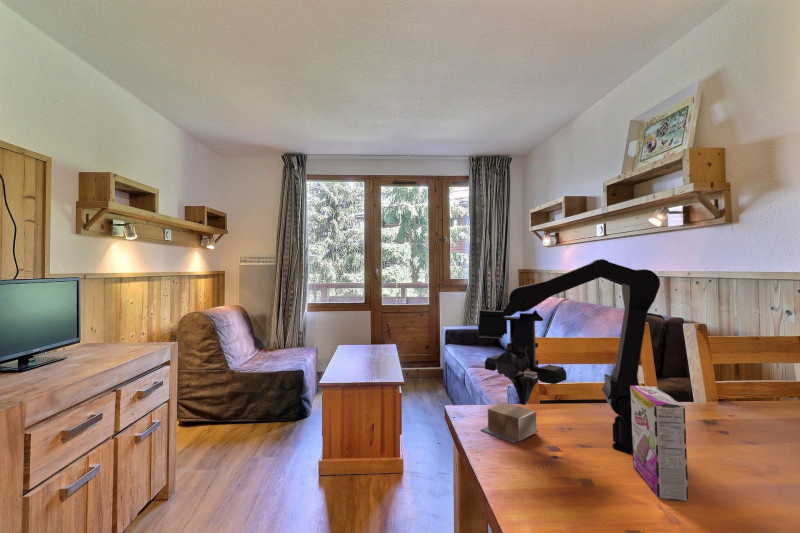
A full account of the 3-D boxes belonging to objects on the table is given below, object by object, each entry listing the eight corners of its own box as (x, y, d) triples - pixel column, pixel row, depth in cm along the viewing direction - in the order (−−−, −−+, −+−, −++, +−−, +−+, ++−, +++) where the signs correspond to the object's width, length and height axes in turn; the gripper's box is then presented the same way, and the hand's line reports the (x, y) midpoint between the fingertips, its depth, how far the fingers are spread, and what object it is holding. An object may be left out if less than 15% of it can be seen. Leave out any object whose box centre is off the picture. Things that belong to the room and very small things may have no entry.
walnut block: (535, 411, 92) (504, 402, 99) (519, 419, 88) (487, 408, 94) (536, 432, 92) (504, 421, 99) (520, 440, 87) (488, 429, 94)
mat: (537, 430, 94) (537, 429, 94) (514, 443, 87) (514, 441, 87) (504, 420, 101) (504, 418, 101) (480, 430, 94) (480, 429, 94)
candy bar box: (631, 467, 76) (628, 384, 76) (659, 469, 75) (656, 385, 75) (657, 500, 65) (654, 403, 65) (690, 503, 64) (687, 405, 64)
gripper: (470, 338, 93) (471, 402, 92) (541, 349, 79) (542, 425, 78) (497, 333, 100) (498, 392, 100) (566, 342, 86) (568, 411, 86)
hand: (523, 404), depth 91 cm, fingers closed
